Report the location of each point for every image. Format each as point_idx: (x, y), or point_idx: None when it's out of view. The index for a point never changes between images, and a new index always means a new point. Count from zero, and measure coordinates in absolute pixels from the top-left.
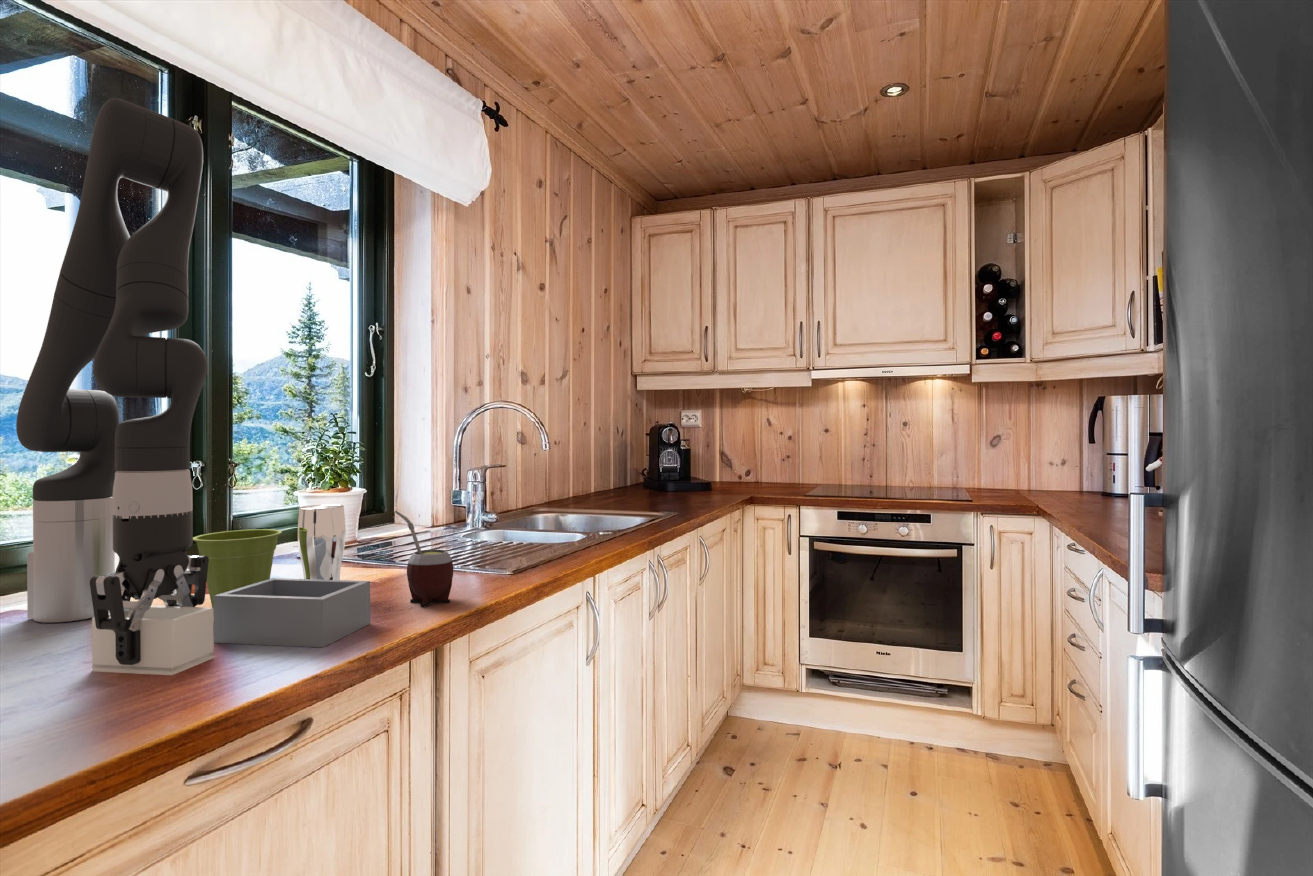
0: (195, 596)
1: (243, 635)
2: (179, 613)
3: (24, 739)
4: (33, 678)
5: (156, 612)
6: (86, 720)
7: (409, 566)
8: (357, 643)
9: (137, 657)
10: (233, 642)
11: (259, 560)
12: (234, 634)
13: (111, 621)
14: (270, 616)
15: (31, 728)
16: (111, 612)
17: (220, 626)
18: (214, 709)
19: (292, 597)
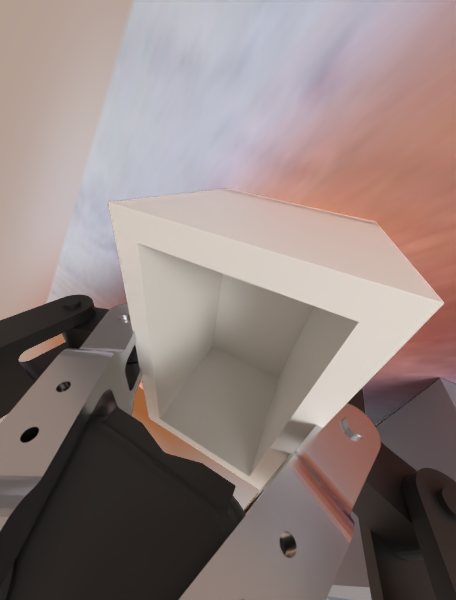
0: (365, 537)
1: (387, 439)
2: (275, 428)
3: (62, 277)
4: (172, 40)
5: (308, 377)
6: (98, 305)
7: None
8: None
9: None
10: (400, 410)
11: None
12: (404, 431)
13: (64, 343)
14: (355, 516)
15: (71, 267)
16: (33, 362)
17: (441, 434)
18: (141, 382)
19: (341, 591)
